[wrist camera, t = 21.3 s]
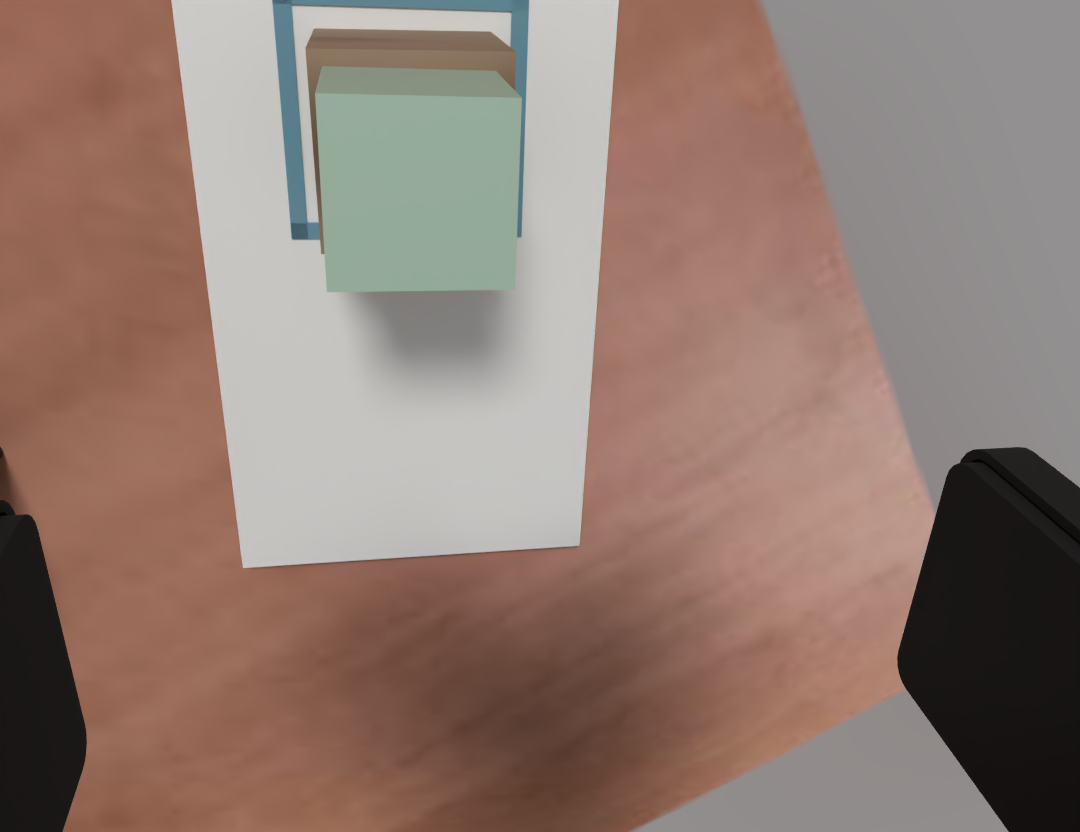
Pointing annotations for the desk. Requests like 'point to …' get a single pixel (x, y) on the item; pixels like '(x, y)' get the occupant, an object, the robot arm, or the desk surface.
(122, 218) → the desk surface
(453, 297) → the building board
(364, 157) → the sage cube
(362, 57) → the walnut block
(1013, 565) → the robot arm
